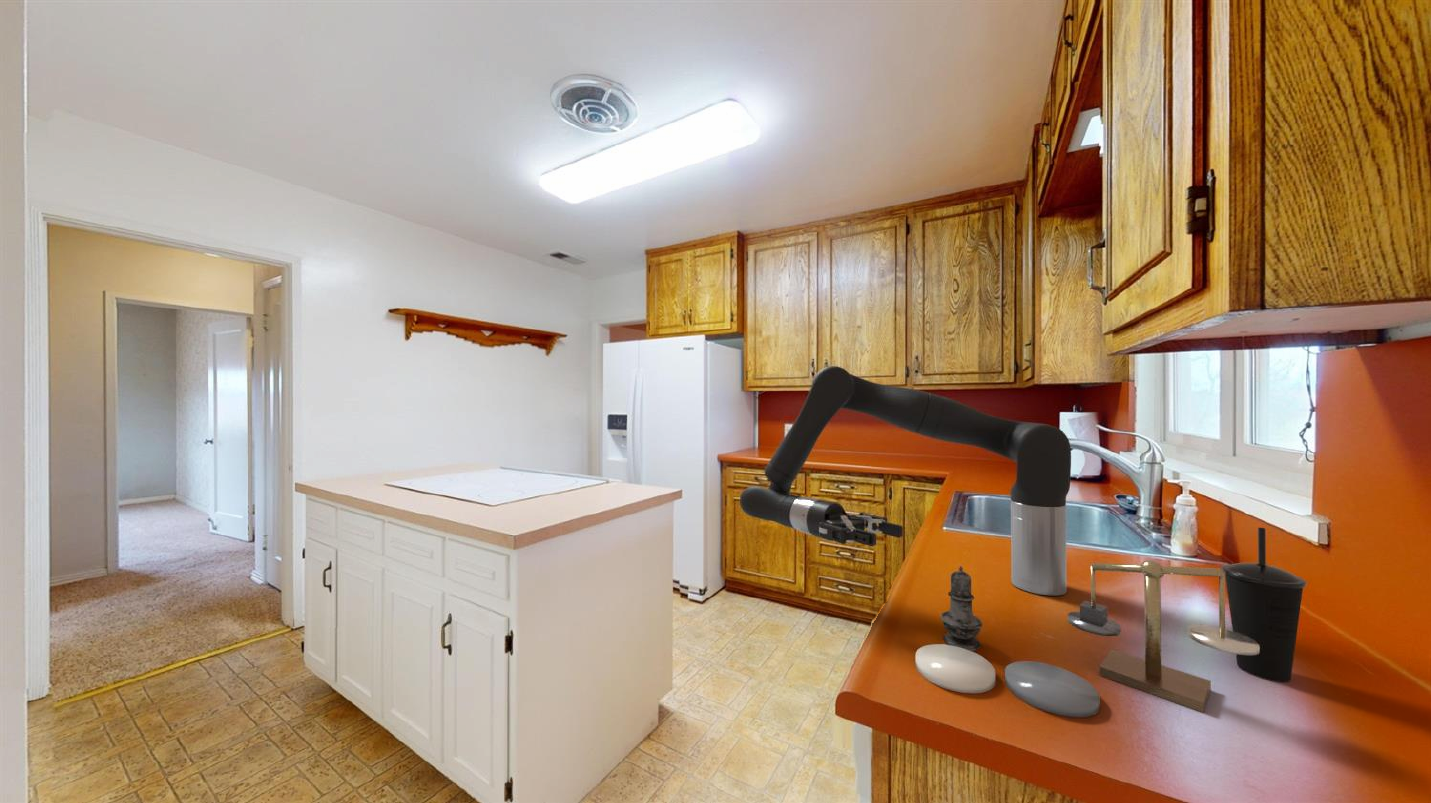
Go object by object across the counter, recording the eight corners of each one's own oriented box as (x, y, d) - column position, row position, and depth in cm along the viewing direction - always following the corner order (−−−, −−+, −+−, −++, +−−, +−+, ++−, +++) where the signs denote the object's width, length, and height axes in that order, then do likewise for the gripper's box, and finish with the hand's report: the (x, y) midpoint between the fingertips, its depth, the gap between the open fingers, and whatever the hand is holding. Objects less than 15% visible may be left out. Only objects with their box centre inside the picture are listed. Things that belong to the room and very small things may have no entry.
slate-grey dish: (1021, 661, 68) (1021, 653, 68) (1109, 694, 60) (1109, 685, 60) (992, 688, 62) (992, 679, 62) (1086, 729, 54) (1086, 719, 54)
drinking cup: (1271, 659, 68) (1270, 522, 68) (1326, 691, 60) (1325, 537, 60) (1207, 653, 69) (1206, 519, 69) (1253, 684, 62) (1252, 534, 62)
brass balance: (1076, 645, 72) (1074, 535, 72) (1262, 706, 57) (1260, 568, 57) (1061, 661, 68) (1060, 544, 68) (1258, 732, 53) (1256, 583, 53)
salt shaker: (988, 653, 70) (988, 574, 70) (946, 649, 71) (946, 571, 71) (975, 634, 76) (974, 560, 76) (936, 631, 77) (935, 558, 77)
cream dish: (936, 645, 73) (936, 637, 73) (1007, 674, 65) (1007, 665, 65) (901, 668, 67) (901, 659, 67) (975, 703, 59) (975, 694, 59)
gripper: (793, 503, 92) (865, 521, 79) (838, 495, 100) (910, 509, 88) (793, 542, 92) (865, 565, 79) (838, 529, 100) (909, 549, 88)
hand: (888, 536), depth 83 cm, fingers open, 8 cm apart
